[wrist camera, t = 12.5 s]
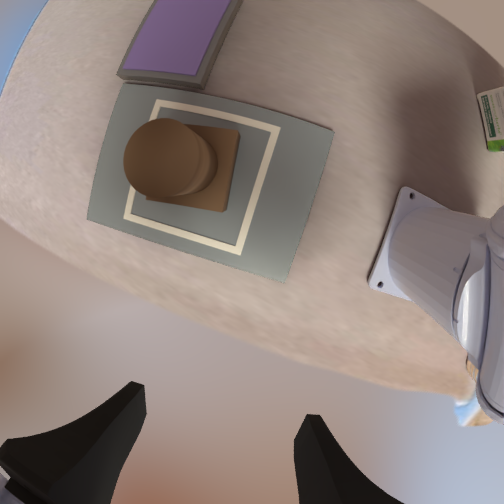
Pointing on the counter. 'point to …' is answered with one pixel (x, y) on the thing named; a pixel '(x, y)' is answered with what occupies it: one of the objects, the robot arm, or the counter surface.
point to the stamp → (182, 163)
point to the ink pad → (178, 41)
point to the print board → (242, 188)
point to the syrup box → (493, 117)
